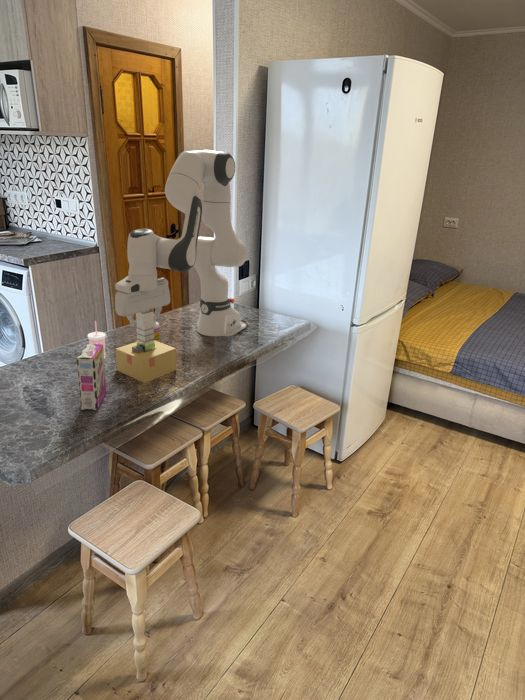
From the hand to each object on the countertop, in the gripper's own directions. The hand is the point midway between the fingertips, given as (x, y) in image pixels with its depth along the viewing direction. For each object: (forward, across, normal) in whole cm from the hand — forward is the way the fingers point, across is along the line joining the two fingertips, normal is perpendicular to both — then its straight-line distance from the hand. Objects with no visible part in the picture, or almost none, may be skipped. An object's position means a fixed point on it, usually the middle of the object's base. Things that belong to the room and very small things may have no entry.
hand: (144, 322), depth 159 cm
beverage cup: (+17, +5, -20) cm, 27 cm away
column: (+12, 0, 0) cm, 12 cm away
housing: (+17, 0, 0) cm, 17 cm away
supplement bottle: (+17, -14, -14) cm, 26 cm away
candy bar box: (+17, +25, +6) cm, 31 cm away
